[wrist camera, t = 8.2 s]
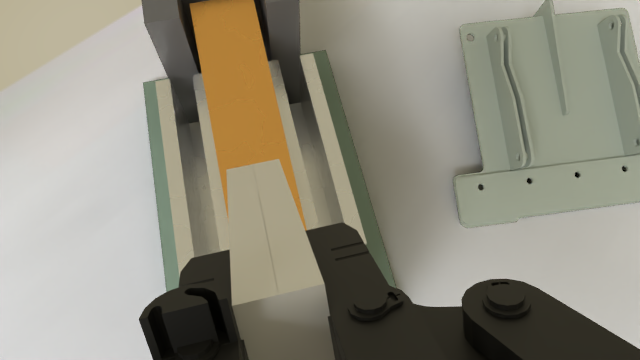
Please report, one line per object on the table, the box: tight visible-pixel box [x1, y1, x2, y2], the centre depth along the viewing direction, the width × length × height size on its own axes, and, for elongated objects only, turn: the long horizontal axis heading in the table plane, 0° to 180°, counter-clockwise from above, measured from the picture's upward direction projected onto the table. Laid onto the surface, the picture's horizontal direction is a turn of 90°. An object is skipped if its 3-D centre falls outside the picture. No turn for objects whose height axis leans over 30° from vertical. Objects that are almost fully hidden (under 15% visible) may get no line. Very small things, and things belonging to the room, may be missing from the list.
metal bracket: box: [453, 0, 640, 228], centre depth 31 cm, size 14×6×15 cm
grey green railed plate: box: [143, 50, 396, 292], centre depth 29 cm, size 19×12×1 cm, turn 13°
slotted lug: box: [142, 0, 301, 123], centre depth 27 cm, size 4×7×10 cm, turn 103°
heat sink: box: [155, 53, 367, 277], centre depth 24 cm, size 14×9×8 cm, turn 13°
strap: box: [190, 0, 307, 231], centre depth 21 cm, size 16×3×1 cm, turn 13°
